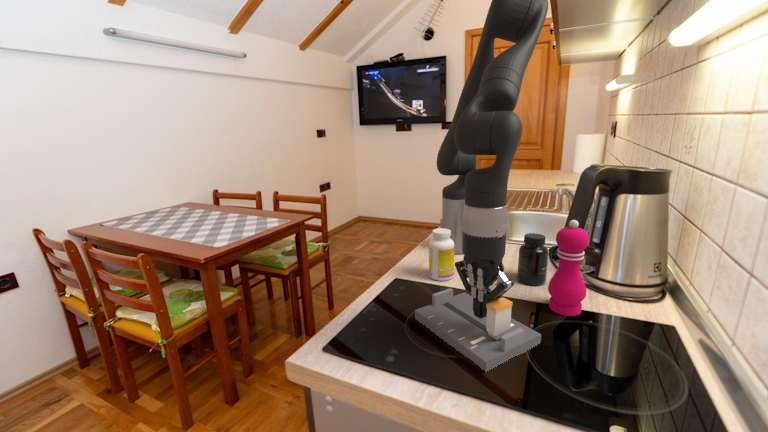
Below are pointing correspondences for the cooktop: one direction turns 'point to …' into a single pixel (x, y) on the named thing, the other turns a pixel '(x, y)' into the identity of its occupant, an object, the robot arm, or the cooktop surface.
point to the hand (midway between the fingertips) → (480, 316)
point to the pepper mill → (569, 271)
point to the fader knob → (498, 317)
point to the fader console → (473, 330)
